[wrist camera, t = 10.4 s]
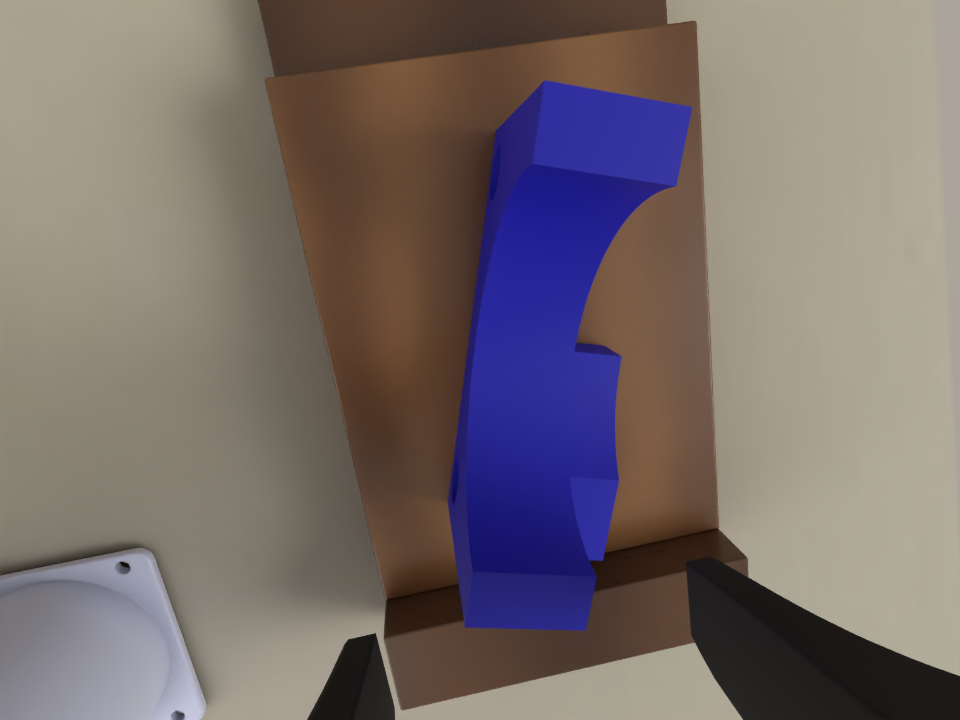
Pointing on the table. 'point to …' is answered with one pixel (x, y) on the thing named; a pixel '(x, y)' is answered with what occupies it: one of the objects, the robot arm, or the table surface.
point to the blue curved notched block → (548, 353)
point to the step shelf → (450, 298)
